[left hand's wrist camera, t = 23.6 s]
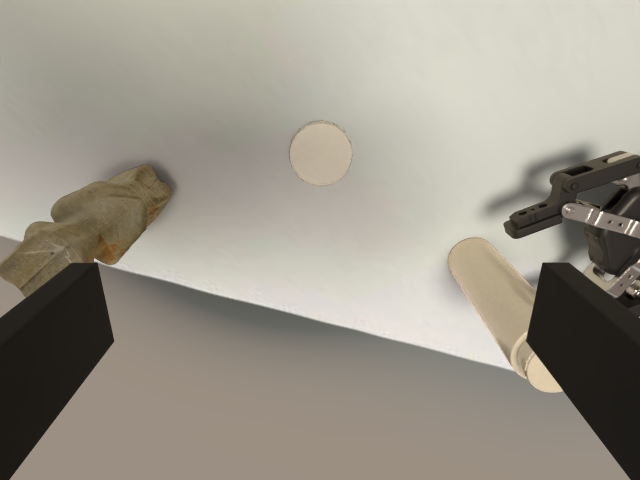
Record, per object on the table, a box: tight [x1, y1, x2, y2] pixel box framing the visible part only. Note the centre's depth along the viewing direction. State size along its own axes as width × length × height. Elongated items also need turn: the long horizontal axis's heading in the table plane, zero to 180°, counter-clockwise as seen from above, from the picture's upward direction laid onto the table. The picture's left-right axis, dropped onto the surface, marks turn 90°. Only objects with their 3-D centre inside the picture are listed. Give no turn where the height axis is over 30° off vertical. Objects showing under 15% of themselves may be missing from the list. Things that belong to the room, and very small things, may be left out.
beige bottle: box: [448, 238, 563, 392], centre depth 34 cm, size 5×5×16 cm
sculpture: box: [0, 164, 172, 298], centre depth 32 cm, size 6×7×15 cm
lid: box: [289, 120, 353, 186], centre depth 37 cm, size 5×5×2 cm
